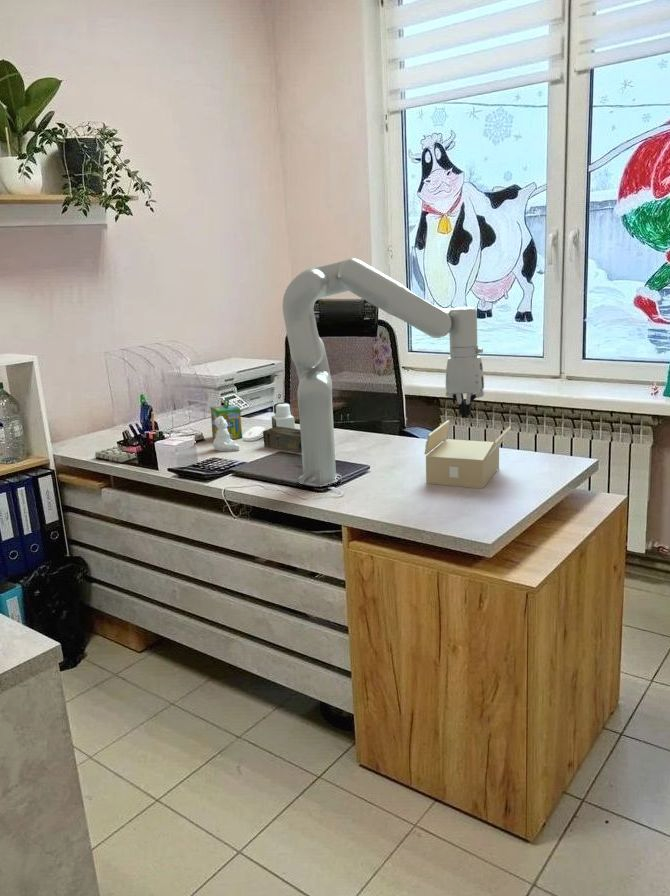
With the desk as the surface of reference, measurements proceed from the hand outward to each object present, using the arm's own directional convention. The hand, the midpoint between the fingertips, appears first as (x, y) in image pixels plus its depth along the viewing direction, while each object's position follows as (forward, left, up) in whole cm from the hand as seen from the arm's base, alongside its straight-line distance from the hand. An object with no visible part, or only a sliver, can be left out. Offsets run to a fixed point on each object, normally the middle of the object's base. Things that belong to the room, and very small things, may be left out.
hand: (465, 417), depth 205 cm
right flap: (0, -9, -7) cm, 11 cm away
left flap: (0, +8, -6) cm, 10 cm away
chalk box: (+23, +96, -18) cm, 101 cm away
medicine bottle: (+32, +77, -18) cm, 86 cm away
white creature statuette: (+8, +87, -18) cm, 90 cm away
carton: (0, 0, -17) cm, 17 cm away
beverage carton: (+16, +66, -18) cm, 70 cm away
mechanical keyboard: (+1, +115, -18) cm, 116 cm away
